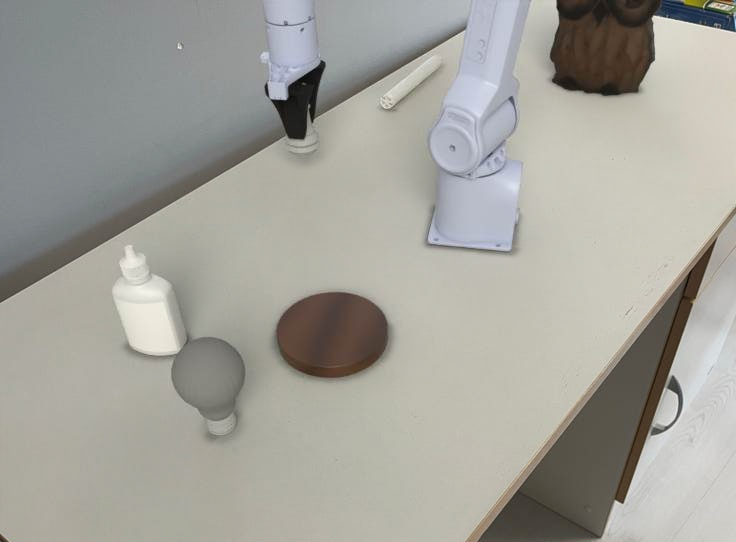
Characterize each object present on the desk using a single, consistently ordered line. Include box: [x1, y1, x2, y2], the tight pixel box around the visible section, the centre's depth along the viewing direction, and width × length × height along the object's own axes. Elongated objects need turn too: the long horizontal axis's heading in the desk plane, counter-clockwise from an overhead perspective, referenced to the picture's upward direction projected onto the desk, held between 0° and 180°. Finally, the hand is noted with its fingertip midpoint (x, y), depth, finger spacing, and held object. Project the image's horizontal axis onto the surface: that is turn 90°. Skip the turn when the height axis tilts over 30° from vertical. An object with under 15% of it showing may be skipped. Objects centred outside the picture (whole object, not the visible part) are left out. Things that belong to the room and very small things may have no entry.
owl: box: [549, 0, 663, 97], centre depth 103 cm, size 13×13×20 cm
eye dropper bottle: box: [111, 244, 188, 357], centre depth 68 cm, size 4×6×12 cm
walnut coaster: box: [275, 291, 389, 379], centre depth 71 cm, size 11×11×2 cm
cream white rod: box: [379, 54, 443, 110], centre depth 111 cm, size 18×2×2 cm, turn 148°
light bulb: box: [170, 336, 246, 436], centre depth 60 cm, size 6×6×10 cm
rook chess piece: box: [284, 83, 321, 156], centre depth 88 cm, size 4×4×8 cm
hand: (301, 130), depth 90 cm, fingers closed on rook chess piece, 3 cm apart
